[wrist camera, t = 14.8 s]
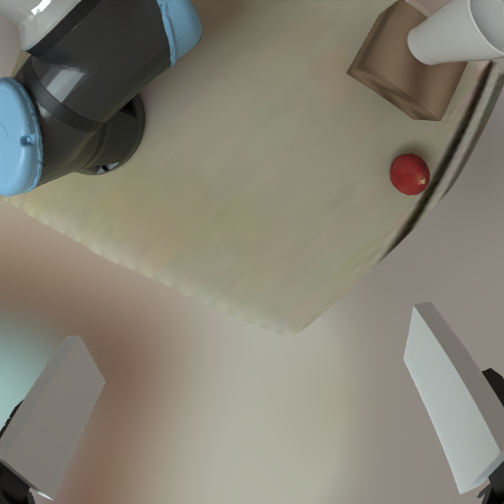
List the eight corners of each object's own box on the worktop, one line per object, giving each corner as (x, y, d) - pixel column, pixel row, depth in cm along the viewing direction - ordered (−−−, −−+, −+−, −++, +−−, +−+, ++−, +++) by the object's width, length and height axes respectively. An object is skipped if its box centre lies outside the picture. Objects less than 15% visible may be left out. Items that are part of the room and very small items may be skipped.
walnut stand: (346, 73, 36) (364, 63, 29) (379, 14, 32) (400, -2, 24) (412, 119, 38) (440, 121, 31) (441, 61, 33) (470, 55, 26)
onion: (397, 142, 40) (422, 148, 32) (421, 167, 41) (448, 178, 34) (374, 172, 42) (396, 183, 34) (400, 195, 43) (424, 211, 35)
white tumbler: (391, 27, 26) (453, -13, 12) (431, 19, 25) (500, -12, 11) (414, 76, 29) (489, 60, 15) (453, 66, 27) (530, 54, 13)
